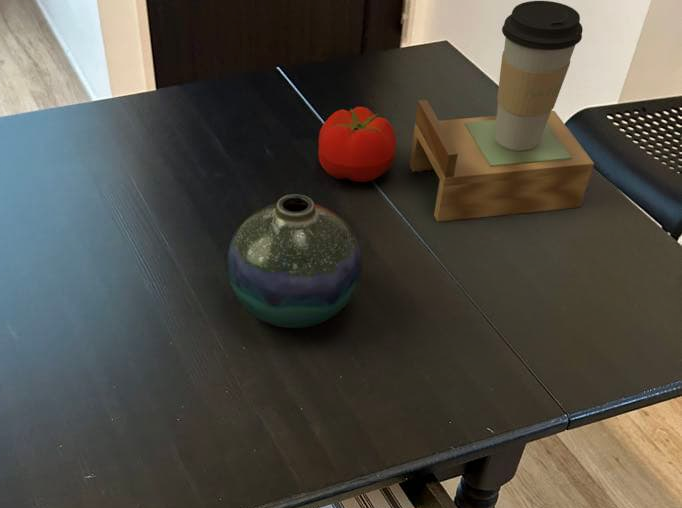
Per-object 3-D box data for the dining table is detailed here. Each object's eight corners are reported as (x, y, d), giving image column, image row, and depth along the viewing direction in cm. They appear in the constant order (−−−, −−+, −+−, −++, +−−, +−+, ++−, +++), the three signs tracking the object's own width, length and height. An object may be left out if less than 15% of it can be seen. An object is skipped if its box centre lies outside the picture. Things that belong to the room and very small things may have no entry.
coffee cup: (527, 166, 105) (560, 39, 93) (466, 140, 109) (490, 15, 97) (566, 138, 109) (601, 13, 97) (506, 114, 113) (533, -9, 101)
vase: (263, 255, 105) (262, 153, 94) (376, 287, 101) (388, 185, 90) (206, 325, 96) (197, 223, 86) (326, 364, 93) (333, 261, 82)
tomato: (381, 198, 112) (387, 144, 106) (305, 183, 115) (307, 129, 109) (401, 159, 118) (408, 106, 112) (329, 145, 120) (332, 93, 114)
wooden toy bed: (542, 153, 119) (560, 87, 112) (580, 207, 111) (601, 140, 104) (409, 166, 117) (418, 100, 110) (437, 222, 109) (448, 154, 102)
